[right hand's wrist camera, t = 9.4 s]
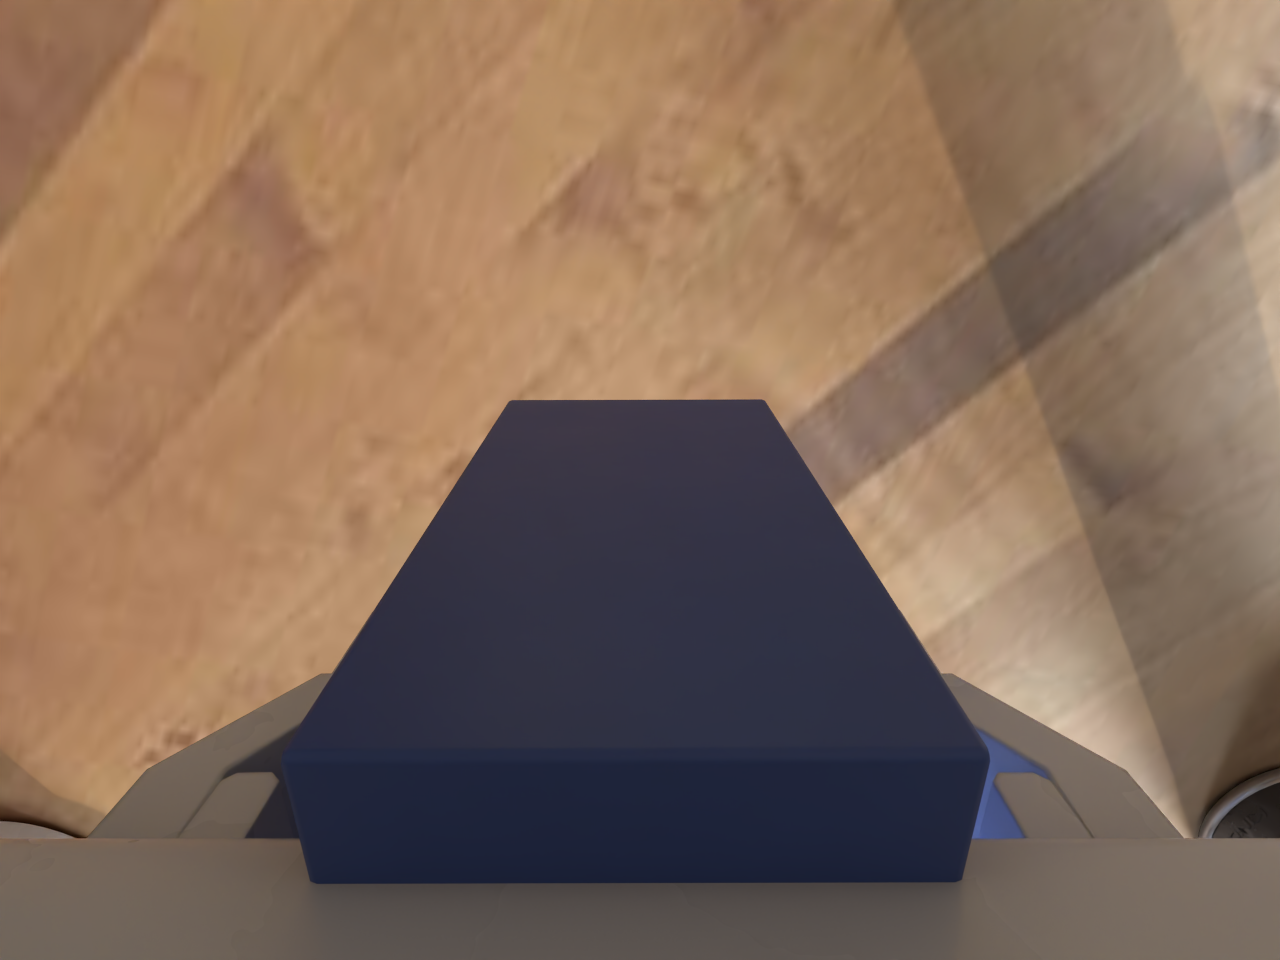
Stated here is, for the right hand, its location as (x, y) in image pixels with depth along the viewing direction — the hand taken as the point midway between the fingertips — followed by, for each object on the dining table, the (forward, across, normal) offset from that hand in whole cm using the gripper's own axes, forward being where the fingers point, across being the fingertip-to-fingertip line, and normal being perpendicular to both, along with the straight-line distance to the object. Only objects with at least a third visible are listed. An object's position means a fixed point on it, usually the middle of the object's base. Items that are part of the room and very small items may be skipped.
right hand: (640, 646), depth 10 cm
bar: (+3, 0, -10) cm, 11 cm away
